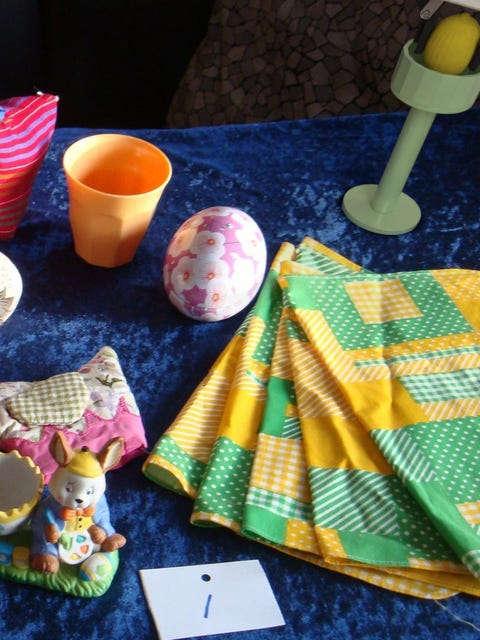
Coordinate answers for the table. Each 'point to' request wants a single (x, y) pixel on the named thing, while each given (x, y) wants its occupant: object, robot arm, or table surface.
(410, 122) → the green goblet
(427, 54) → the lemon
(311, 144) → the table surface
